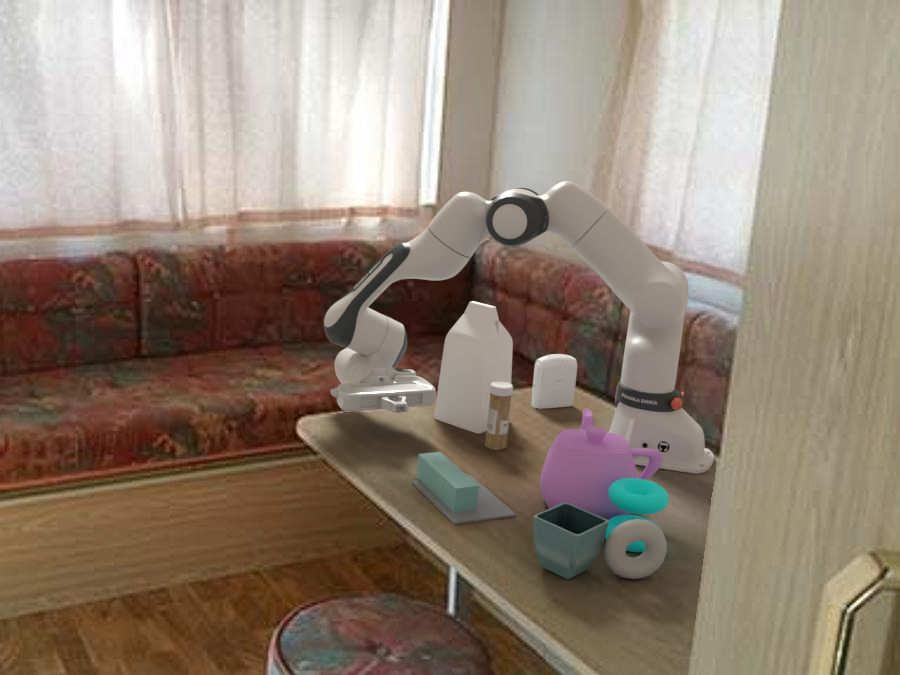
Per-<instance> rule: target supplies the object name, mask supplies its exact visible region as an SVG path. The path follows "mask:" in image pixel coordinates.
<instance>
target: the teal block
mask: <svg viewBox="0 0 900 675" xmlns="http://www.w3.org/2000/svg"><path fill="white" fill-rule="evenodd" d="M467 475H468V474H466V473H465V472H464V471H463V469H461V468H459V467H458V466H457V465H456V464H455V463H454V462H453V461H452V460H450V459H449V458H448V457H447V456H446V455H445V454H443V453H442V452H441V451H435V452H426V453H418V455H417V466H416V478H418V480H421V481H422V482H423V483H424V484H425V485H426V486H427V487H428V488H429V489H430V490H431V491H432V492H433V493H434V494H435V495H436V496H437V497H438V498H439V499H440V500H441V501H442V502H443V503H444V504H445V505H446V506H447V507H448V508H450V509H451V510H452V511H453V512H461V511H469V510H477V501H478V491H479V485H478V484H476V483H475V482H474V481H473V480H472V479H471V478H470V477H468V476H467Z"/></svg>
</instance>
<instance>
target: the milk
mask: <svg viewBox="0 0 900 675" xmlns="http://www.w3.org/2000/svg"><path fill="white" fill-rule="evenodd" d="M498 315H499V314H498V310H497V307H496V306H495V305H490V304H487V303H482V302H478V301H475V300H472V301H469V303H468V304H467V306H466V309H465V310H464V313H463V314H462V315H461V316H460V317H459V318H458V319H457V321H456V322H455V323H454V325H453V326H452V327H451V328H450V329H449V331H448V332H447V334H446V336H445V339H444V344H443V350H442V358H441V366H440V372H439V379H438V385H437V391H436V399H435V406H434V414H433V419H434V420H437V421H440V422H443V423H446V424H449V425H452V426H454V427H457V428H460V429H463V430H465V431H469V432H471V433H472V432H473V433H475V434H478V435H479V434H483V433H484V432H487V421H488V410H489V403H490V385H491V383H492V382H497V381H501V382H507V383H510V384H512V368H513V350H514V348H513V347H514V341H513V338H512V336H511V334H510V332H509V331H508V330H507V329H506V327H505V326H504V325H503V323H501V321H500V320H499V316H498Z"/></svg>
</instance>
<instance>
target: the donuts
mask: <svg viewBox="0 0 900 675" xmlns="http://www.w3.org/2000/svg"><path fill="white" fill-rule="evenodd" d="M608 495H609V498H610V500H611V501H612V503H613V504H614V505H616V506H617V507H618V508H620V509H622V510H624V511H627V512H630V513H631V514H630V515H619V516H615V517H613V518H611V519H609V524H608V528H607V531H606V535H605V538H604V539H605V541H606V540H607V538H608V536H609V535H610V533H611V532H612V530H614V529H615V528H616V527H617V526H618V525H620V524H622V523H624V522H626V521H629V520H636V519H641V520H647V521H649V522H651V523H653V524H655V525H657V524H656V523H655V522H654V521H652V519H648V518H646V517H645V516H643V515H653V514H657V513H660V512H661V511H664V509H665V508H666V507H667V506H668V504H669V500H670V499H669V493H668V492H667V491H666V488H664V487H663V486H662V485H660V484H658V483H656V482H653V481H651V480H649V479H648V480H645V479H639V478H638V477H637V478H624V479H619V480H617V481H615V482H613V483H612V484H611V485H610V487H609V490H608ZM641 515H642V516H641ZM659 529H660V530H661V531H662V529H661V527H659ZM644 550H645V543H644V542H642V541H635V542H633V543H631V544H630V545H629V546H628V547H627V549H626V552H631V553H643V552H644Z"/></svg>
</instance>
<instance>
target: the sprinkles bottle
mask: <svg viewBox="0 0 900 675" xmlns="http://www.w3.org/2000/svg"><path fill="white" fill-rule="evenodd" d="M513 391H514V386H513V384H512V383H511V384H510V383H507V382H501V381H497V382H492V383H491V385H490V403H489V410H488V421H487V431H486V435H485V436H486V437H485V442H484V445H485V447H486V448H488V449H489V450H493V451H502V450H505V449H506V448H507V447H508V445H507V444H508V443H507V440H508V433H509V426H510V425H509V423H510V412H511V403H512V402H511V400H512V395H513Z"/></svg>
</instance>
